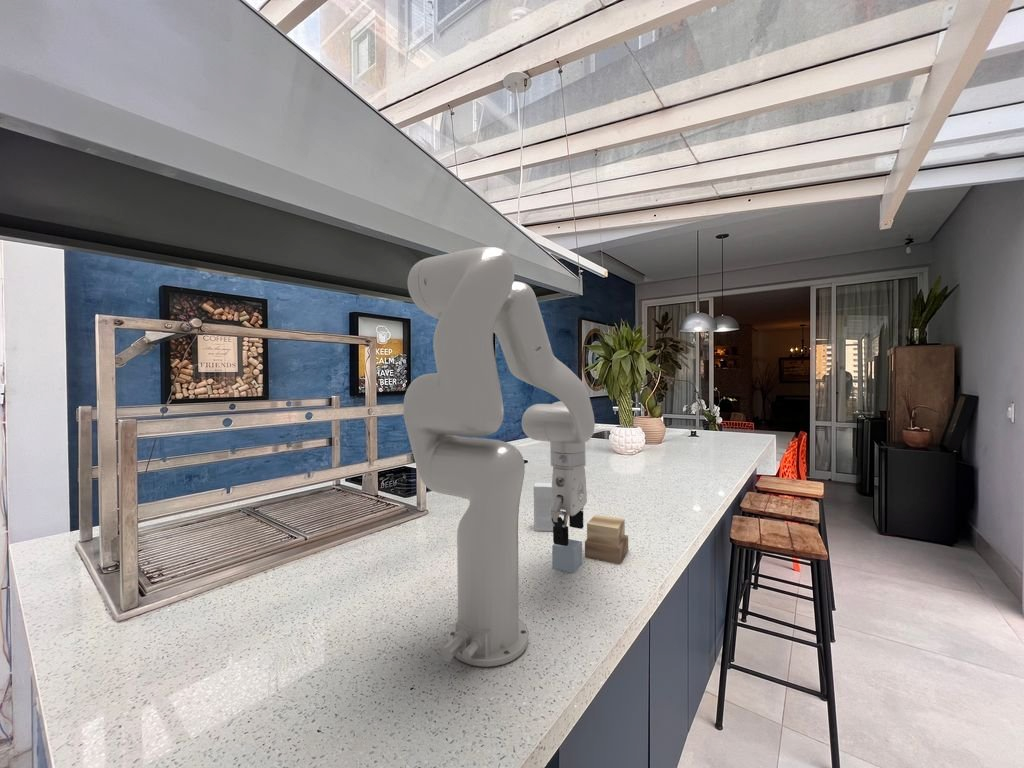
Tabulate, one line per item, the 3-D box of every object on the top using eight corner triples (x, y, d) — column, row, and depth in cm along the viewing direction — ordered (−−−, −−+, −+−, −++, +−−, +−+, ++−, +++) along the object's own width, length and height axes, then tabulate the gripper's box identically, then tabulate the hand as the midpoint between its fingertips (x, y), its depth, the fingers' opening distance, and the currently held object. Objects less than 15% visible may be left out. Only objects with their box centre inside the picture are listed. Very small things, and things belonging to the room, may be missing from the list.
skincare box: (556, 526, 116) (556, 482, 115) (556, 532, 111) (556, 486, 111) (534, 525, 116) (534, 482, 116) (533, 531, 112) (533, 486, 112)
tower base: (620, 566, 92) (620, 548, 92) (584, 558, 96) (584, 541, 96) (628, 552, 99) (628, 535, 99) (595, 546, 103) (595, 529, 103)
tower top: (617, 546, 93) (617, 528, 93) (587, 541, 96) (587, 523, 96) (624, 535, 99) (624, 518, 99) (595, 530, 102) (595, 514, 102)
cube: (574, 573, 88) (574, 550, 88) (552, 568, 91) (552, 545, 91) (582, 564, 93) (582, 541, 93) (560, 559, 95) (560, 537, 95)
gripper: (570, 469, 82) (571, 555, 83) (596, 451, 97) (597, 524, 98) (535, 465, 86) (537, 548, 87) (565, 449, 101) (566, 519, 102)
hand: (569, 535), depth 92 cm, fingers open, 9 cm apart
